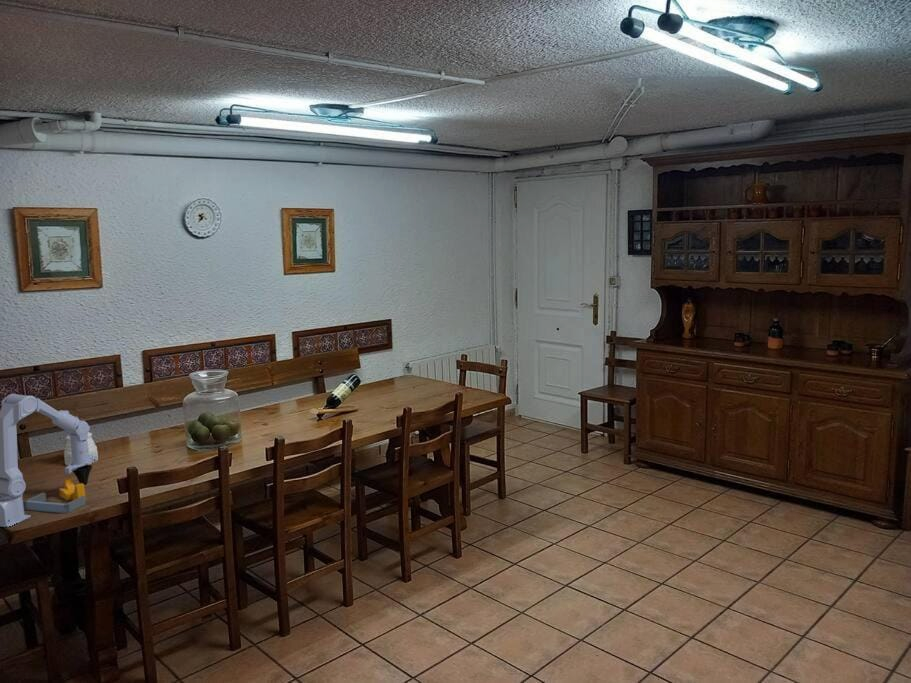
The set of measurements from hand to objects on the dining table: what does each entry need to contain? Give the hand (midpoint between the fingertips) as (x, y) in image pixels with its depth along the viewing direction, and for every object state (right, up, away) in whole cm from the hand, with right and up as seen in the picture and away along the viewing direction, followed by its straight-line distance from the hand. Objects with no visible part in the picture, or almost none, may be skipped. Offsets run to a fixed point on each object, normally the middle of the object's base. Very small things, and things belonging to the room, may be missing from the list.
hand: (83, 484), depth 269 cm
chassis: (-3, -5, -13) cm, 14 cm away
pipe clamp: (-1, -4, -6) cm, 7 cm away
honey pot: (-21, +2, +37) cm, 43 cm away
